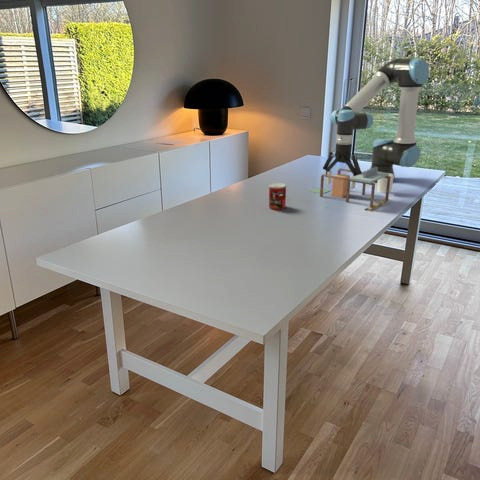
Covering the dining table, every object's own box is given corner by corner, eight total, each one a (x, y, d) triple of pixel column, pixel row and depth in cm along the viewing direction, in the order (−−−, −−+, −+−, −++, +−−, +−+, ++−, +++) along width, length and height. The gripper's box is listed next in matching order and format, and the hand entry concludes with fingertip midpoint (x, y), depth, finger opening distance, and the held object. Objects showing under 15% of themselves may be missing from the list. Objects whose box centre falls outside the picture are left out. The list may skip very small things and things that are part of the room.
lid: (369, 172, 231) (370, 164, 230) (388, 175, 225) (389, 167, 224) (350, 179, 218) (351, 171, 217) (370, 183, 212) (371, 174, 211)
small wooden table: (322, 187, 253) (323, 164, 248) (389, 201, 229) (392, 176, 225) (301, 196, 239) (302, 171, 234) (370, 211, 216) (372, 184, 211)
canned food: (266, 208, 220) (266, 186, 216) (273, 204, 227) (273, 182, 223) (281, 211, 217) (281, 188, 213) (287, 206, 223) (288, 183, 219)
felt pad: (317, 188, 248) (317, 187, 248) (330, 190, 243) (330, 190, 243) (308, 191, 242) (308, 190, 242) (322, 194, 237) (322, 193, 237)
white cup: (388, 196, 237) (390, 177, 233) (373, 194, 241) (375, 175, 238) (394, 193, 243) (396, 174, 239) (379, 190, 247) (381, 172, 243)
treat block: (338, 192, 239) (339, 173, 236) (348, 194, 236) (350, 175, 232) (331, 195, 235) (333, 175, 231) (342, 197, 231) (343, 177, 228)
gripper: (317, 141, 231) (315, 183, 238) (363, 147, 215) (359, 192, 223) (325, 139, 236) (323, 180, 244) (371, 145, 221) (367, 189, 228)
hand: (340, 186), depth 233 cm, fingers open, 13 cm apart
